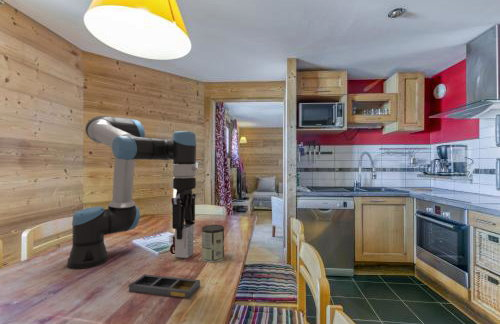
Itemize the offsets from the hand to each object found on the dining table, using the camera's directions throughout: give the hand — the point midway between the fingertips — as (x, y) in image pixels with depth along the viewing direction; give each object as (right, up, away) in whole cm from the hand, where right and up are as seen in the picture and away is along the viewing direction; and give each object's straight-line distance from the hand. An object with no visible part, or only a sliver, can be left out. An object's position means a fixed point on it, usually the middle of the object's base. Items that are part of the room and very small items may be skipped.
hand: (184, 245), depth 85 cm
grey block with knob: (0, -3, 0) cm, 3 cm away
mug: (-10, -16, +31) cm, 36 cm away
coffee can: (+5, -16, +31) cm, 35 cm away
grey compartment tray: (-7, -16, +1) cm, 17 cm away
